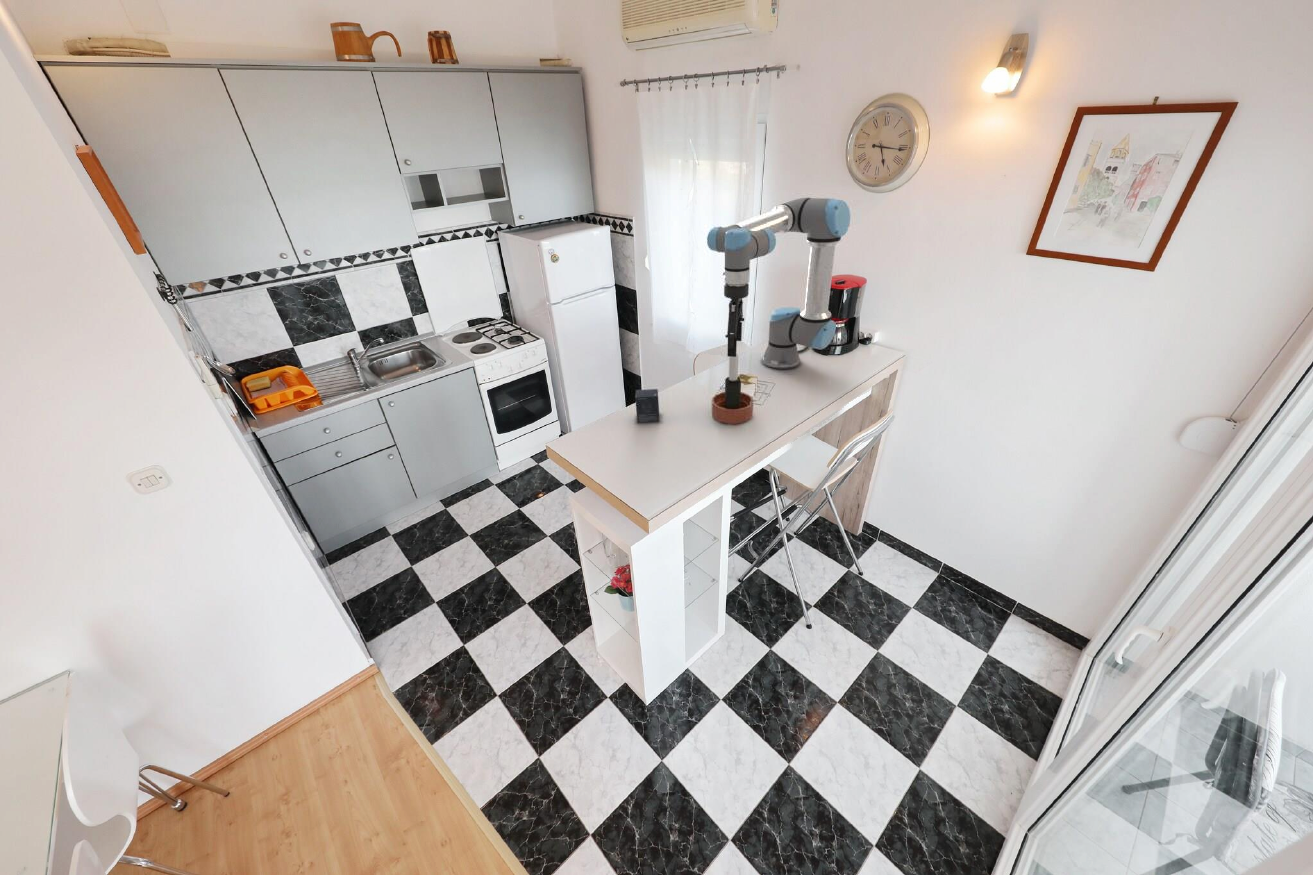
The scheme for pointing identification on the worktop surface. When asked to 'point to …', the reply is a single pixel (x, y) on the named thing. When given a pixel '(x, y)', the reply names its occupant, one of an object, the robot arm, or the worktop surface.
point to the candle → (733, 385)
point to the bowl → (732, 414)
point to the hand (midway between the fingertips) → (734, 348)
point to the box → (647, 405)
